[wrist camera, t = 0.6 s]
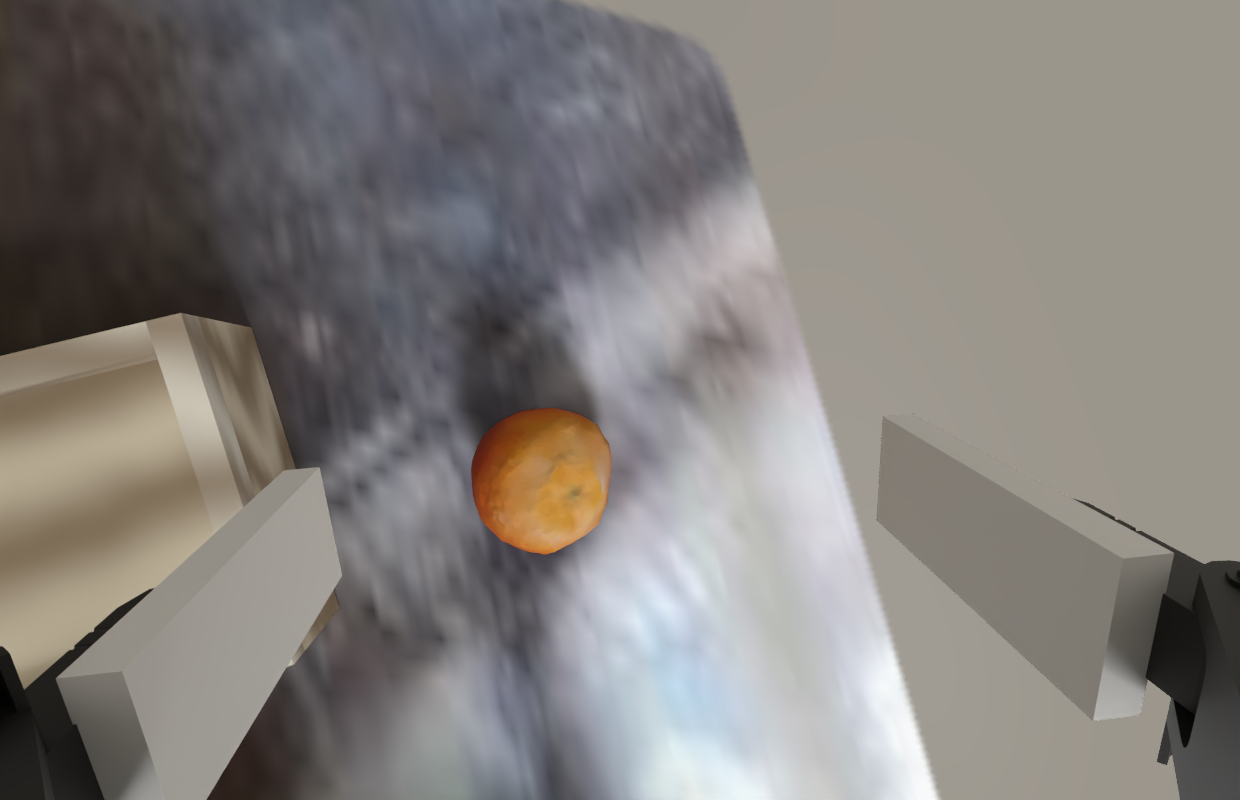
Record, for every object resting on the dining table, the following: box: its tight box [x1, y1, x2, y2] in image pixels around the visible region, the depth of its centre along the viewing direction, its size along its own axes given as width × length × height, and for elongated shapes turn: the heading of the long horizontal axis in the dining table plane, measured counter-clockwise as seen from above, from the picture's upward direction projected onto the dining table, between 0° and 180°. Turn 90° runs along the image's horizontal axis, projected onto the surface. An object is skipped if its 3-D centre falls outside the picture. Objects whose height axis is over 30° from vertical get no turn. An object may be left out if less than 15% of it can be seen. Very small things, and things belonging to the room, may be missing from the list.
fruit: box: [471, 408, 611, 554], centre depth 36 cm, size 8×8×8 cm
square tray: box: [0, 313, 339, 689], centre depth 31 cm, size 17×17×8 cm
